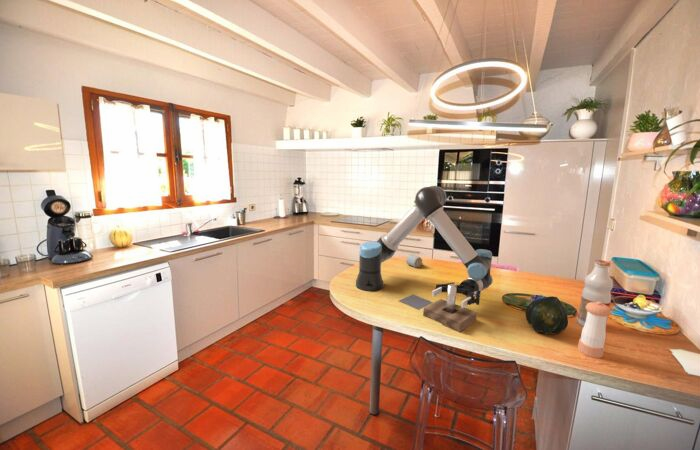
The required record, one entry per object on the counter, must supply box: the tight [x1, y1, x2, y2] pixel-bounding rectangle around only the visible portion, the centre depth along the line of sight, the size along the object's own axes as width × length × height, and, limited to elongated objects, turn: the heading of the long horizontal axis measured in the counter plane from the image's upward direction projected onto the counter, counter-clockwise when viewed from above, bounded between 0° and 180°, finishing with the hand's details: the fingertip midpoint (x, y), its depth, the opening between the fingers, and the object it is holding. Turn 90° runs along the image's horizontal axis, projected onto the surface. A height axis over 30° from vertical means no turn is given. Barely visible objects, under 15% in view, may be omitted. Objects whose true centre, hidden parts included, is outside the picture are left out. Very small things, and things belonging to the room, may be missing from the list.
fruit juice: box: [577, 259, 614, 328], centre depth 125 cm, size 9×9×28 cm
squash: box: [524, 296, 569, 335], centre depth 122 cm, size 14×15×15 cm
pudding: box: [531, 294, 546, 302], centre depth 144 cm, size 12×12×5 cm
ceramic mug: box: [405, 253, 424, 268], centre depth 200 cm, size 11×8×8 cm
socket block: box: [422, 298, 478, 333], centre depth 131 cm, size 17×14×4 cm
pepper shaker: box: [577, 302, 612, 359], centre depth 107 cm, size 7×7×19 cm
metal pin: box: [446, 284, 457, 314], centre depth 130 cm, size 4×4×15 cm
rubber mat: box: [398, 294, 434, 311], centre depth 146 cm, size 12×12×1 cm
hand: (446, 299), depth 127 cm, fingers open, 13 cm apart
